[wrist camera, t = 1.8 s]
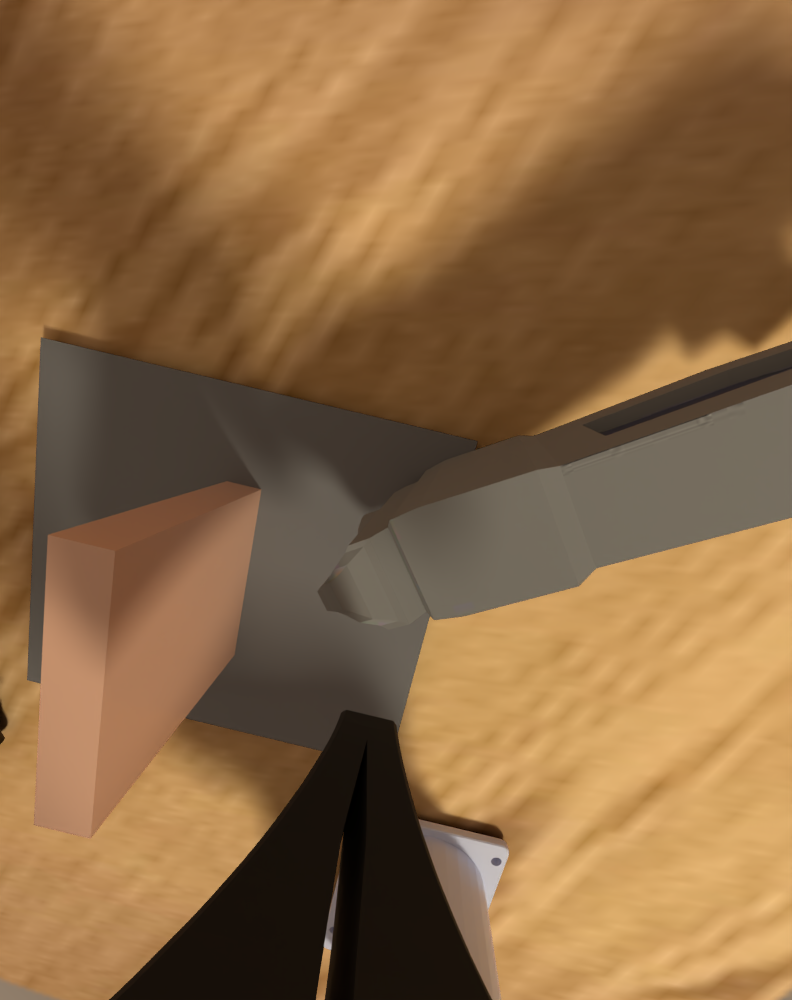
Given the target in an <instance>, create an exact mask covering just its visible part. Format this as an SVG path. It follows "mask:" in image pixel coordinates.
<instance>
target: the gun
mask: <svg viewBox="0 0 792 1000" xmlns="http://www.w3.org/2000/svg"><path fill="white" fill-rule="evenodd" d="M788 518H792V341H791V342H788V343H785V344H782V345H780V346H777V347H774V348H771V349H768V350H765V351H762V352H759V353H756V354H753V355H750V356H747V357H744V358H741V359H738V360H735V361H732V362H729V363H726V364H723V365H720V366H717V367H714V368H711V369H708V370H705V371H703V372H700V373H697V374H695V375H692V376H690V377H687V378H684V379H682V380H679V381H677V382H674V383H671V384H669V385H666V386H663V387H661V388H658V389H656V390H653V391H650V392H648V393H645V394H643V395H640V396H637V397H635V398H632V399H629V400H627V401H624V402H622V403H619V404H616V405H614V406H611V407H609V408H606V409H603V410H601V411H598V412H595V413H593V414H590V415H588V416H585V417H582V418H580V419H577V420H575V421H572V422H569V423H567V424H564V425H562V426H559V427H556V428H554V429H551V430H548V431H546V432H543V433H541V434H538V435H534V436H516V437H513V438H510V439H507V440H504V441H501V442H498V443H495V444H492V445H489V446H486V447H483V448H480V449H477V450H474V451H471V452H468V453H465V454H462V455H459V456H456V457H453V458H450V459H447V460H444V461H442V462H441V463H439V464H437V465H435V466H433V467H431V468H430V469H428V470H426V471H425V472H424V474H423V475H422V477H421V478H420V479H419V481H418V482H416V483H413V484H410V485H408V486H406V487H404V488H402V489H400V490H398V491H396V492H394V494H393V495H392V496H391V497H390V498H389V499H388V500H387V502H386V503H385V504H384V505H383V506H382V507H381V508H380V509H379V510H376V511H373V512H371V513H368V514H366V515H364V516H363V517H362V519H361V522H360V525H359V528H358V535H357V536H356V537H355V538H354V539H353V541H352V542H351V543H350V544H349V545H348V547H347V550H346V552H345V554H344V555H343V557H342V558H341V560H340V561H339V563H338V564H337V565H336V567H335V568H334V570H333V572H332V573H331V575H330V576H329V578H328V579H327V580H326V581H325V582H324V584H323V585H322V586H321V587H320V588H319V590H318V591H317V592H318V594H319V596H320V598H321V600H322V602H323V604H324V606H325V608H326V610H327V611H333V612H338V613H341V614H344V615H346V616H348V617H350V618H352V619H354V620H356V621H358V622H360V623H365V624H372V625H379V626H382V627H384V628H386V629H388V630H389V629H393V628H397V627H401V626H405V625H409V624H411V623H412V622H413V621H415V620H416V619H417V618H419V617H420V616H421V615H423V614H424V613H425V612H427V613H428V614H429V615H430V616H431V617H432V618H433V619H434V620H439V619H447V618H454V617H462V616H467V615H471V614H475V613H478V612H482V611H486V610H490V609H494V608H498V607H501V606H505V605H509V604H513V603H517V602H520V601H524V600H528V599H532V598H536V597H540V596H543V595H547V594H551V593H555V592H559V591H562V590H566V589H570V588H574V587H578V586H580V585H581V584H582V583H583V581H584V580H585V579H586V578H587V577H588V576H589V575H590V574H591V573H592V572H593V571H594V570H595V569H596V568H599V567H603V566H607V565H611V564H615V563H618V562H622V561H626V560H630V559H634V558H638V557H642V556H645V555H649V554H653V553H657V552H661V551H665V550H669V549H672V548H676V547H680V546H684V545H688V544H692V543H696V542H700V541H703V540H707V539H711V538H715V537H719V536H723V535H727V534H730V533H734V532H738V531H742V530H746V529H750V528H754V527H757V526H761V525H765V524H769V523H773V522H777V521H781V520H785V519H788Z"/></svg>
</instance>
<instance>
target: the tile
mask: <svg viewBox="0 0 792 1000" xmlns="http://www.w3.org/2000/svg"><path fill="white" fill-rule="evenodd" d="M260 495H261V489H258V488H254V487H249V486H245V485H241V484H237V483H233V482H228V481H226V482H222V483H219V484H216V485H212V486H209V487H206V488H202V489H199V490H196V491H192V492H189V493H186V494H182V495H179V496H176V497H172V498H169V499H166V500H162V501H159V502H156V503H152V504H149V505H146V506H142V507H139V508H136V509H132V510H129V511H126V512H122V513H119V514H116V515H112V516H109V517H105V518H102V519H99V520H95V521H92V522H89V523H85V524H82V525H79V526H75V527H72V528H69V529H65V530H62V531H59V532H55V533H52V534H49V535H48V542H47V563H46V583H45V604H44V625H43V646H42V667H41V688H40V709H39V730H38V751H37V772H36V793H35V814H34V825H36V826H40V827H44V828H48V829H52V830H57V831H61V832H65V833H69V834H73V835H77V836H81V837H86V838H90V839H91V837H92V836H93V835H94V834H95V832H96V831H97V830H98V828H99V827H100V826H101V825H102V823H103V822H104V821H105V819H106V818H107V817H108V816H109V814H110V813H111V812H112V811H113V809H114V808H115V807H116V805H117V804H118V803H119V802H120V800H121V799H122V798H123V797H124V795H125V794H126V793H127V791H128V790H129V789H130V788H131V786H132V785H133V784H134V783H135V781H136V780H137V779H138V777H139V776H140V775H141V774H142V772H143V771H144V770H145V768H146V767H147V766H148V765H149V763H150V762H151V761H152V760H153V758H154V757H155V756H156V754H157V753H158V752H159V751H160V749H161V748H162V747H163V746H164V744H165V743H166V742H167V740H168V739H169V738H170V737H171V735H172V734H173V733H174V731H175V730H176V729H177V728H178V726H179V725H180V724H181V723H182V721H183V720H184V719H185V717H186V716H187V715H188V714H189V712H190V711H191V710H192V709H193V707H194V706H195V705H196V703H197V702H198V701H199V700H200V698H201V697H202V696H203V695H204V693H205V692H206V691H207V689H208V688H209V687H210V686H211V684H212V683H213V682H214V680H215V679H216V678H217V677H218V675H219V674H220V673H221V672H222V670H223V669H224V668H225V666H226V665H227V664H228V663H229V661H230V660H231V659H232V658H233V656H234V655H235V649H236V643H237V636H238V630H239V624H240V618H241V612H242V606H243V600H244V594H245V587H246V581H247V575H248V569H249V563H250V557H251V551H252V544H253V538H254V532H255V526H256V520H257V514H258V508H259V502H260Z"/></svg>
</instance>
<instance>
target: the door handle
mask: <svg viewBox="0 0 792 1000" xmlns="http://www.w3.org/2000/svg"><path fill="white" fill-rule="evenodd" d="M4 739H5V737H4V736H3V734H2V733H1V731H0V744H1V743H2V742H3V740H4Z"/></svg>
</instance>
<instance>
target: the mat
mask: <svg viewBox="0 0 792 1000" xmlns="http://www.w3.org/2000/svg"><path fill="white" fill-rule="evenodd" d="M477 442H478V441H475V440H470V439H466V438H462V437H458V436H454V435H449V434H445V433H441V432H437V431H433V430H428V429H424V428H420V427H416V426H412V425H407V424H403V423H399V422H395V421H391V420H386V419H382V418H378V417H374V416H370V415H365V414H361V413H357V412H353V411H348V410H344V409H340V408H336V407H332V406H327V405H323V404H319V403H315V402H311V401H306V400H302V399H298V398H294V397H290V396H285V395H281V394H277V393H273V392H269V391H264V390H260V389H256V388H252V387H248V386H243V385H239V384H235V383H231V382H226V381H222V380H218V379H214V378H210V377H205V376H201V375H197V374H193V373H189V372H184V371H180V370H176V369H172V368H168V367H163V366H159V365H155V364H151V363H147V362H142V361H138V360H134V359H130V358H125V357H121V356H117V355H113V354H109V353H104V352H100V351H96V350H92V349H88V348H83V347H79V346H75V345H71V344H67V343H62V342H58V341H54V340H50V339H45V338H41V347H40V372H39V398H38V423H37V448H36V473H35V499H34V524H33V549H32V575H31V600H30V625H29V651H28V676H27V680H29V681H33V682H37V683H41V667H42V646H43V625H44V604H45V583H46V563H47V542H48V535H49V534H52V533H55V532H59V531H62V530H65V529H69V528H72V527H75V526H79V525H82V524H85V523H89V522H92V521H95V520H99V519H102V518H105V517H109V516H112V515H116V514H119V513H122V512H126V511H129V510H132V509H136V508H139V507H142V506H146V505H149V504H152V503H156V502H159V501H162V500H166V499H169V498H172V497H176V496H179V495H182V494H186V493H189V492H192V491H196V490H199V489H202V488H206V487H209V486H212V485H216V484H219V483H222V482H226V481H228V482H233V483H237V484H241V485H245V486H249V487H254V488H258V489H261V495H260V502H259V508H258V514H257V520H256V526H255V532H254V538H253V544H252V551H251V557H250V563H249V569H248V575H247V581H246V587H245V594H244V600H243V606H242V612H241V618H240V624H239V630H238V636H237V643H236V649H235V655H234V656H233V658H232V659H231V660H230V661H229V663H228V664H227V665H226V666H225V668H224V669H223V670H222V672H221V673H220V674H219V675H218V677H217V678H216V679H215V680H214V682H213V683H212V684H211V686H210V687H209V688H208V689H207V691H206V692H205V693H204V695H203V696H202V697H201V698H200V700H199V701H198V702H197V703H196V705H195V706H194V707H193V709H192V710H191V711H190V712H189V714H188V715H187V716H186V717H185V718H187V719H191V720H195V721H199V722H204V723H208V724H212V725H216V726H220V727H224V728H228V729H233V730H237V731H241V732H245V733H249V734H253V735H258V736H262V737H266V738H270V739H274V740H278V741H283V742H287V743H291V744H295V745H299V746H303V747H308V748H312V749H316V750H320V751H323V750H324V748H325V746H326V744H327V743H328V741H329V739H330V737H331V735H332V733H333V731H334V729H335V727H336V725H337V722H338V720H339V717H340V714H341V712H343V711H345V710H350V711H354V712H359V713H363V714H367V715H371V716H375V717H379V718H384V719H388V720H392V721H394V722H395V724H396V726H397V733H398V730H399V727H400V723H401V720H402V716H403V712H404V709H405V705H406V701H407V698H408V694H409V690H410V687H411V683H412V679H413V676H414V672H415V668H416V665H417V661H418V657H419V654H420V650H421V646H422V643H423V639H424V635H425V632H426V628H427V624H428V621H429V617H430V615H429V614H428V613H427V612H425V613H424V614H423V615H421V616H420V617H419V618H417V619H416V620H415V621H413V622H412V623H411V624H409V625H405V626H401V627H397V628H393V629H389V630H388V629H386V628H384V627H382V626H379V625H372V624H365V623H360V622H358V621H356V620H354V619H352V618H350V617H348V616H346V615H344V614H341V613H338V612H333V611H327V610H326V608H325V606H324V604H323V602H322V600H321V598H320V596H319V594H318V592H317V591H318V590H319V588H320V587H321V586H322V585H323V584H324V582H325V581H326V580H327V579H328V578H329V576H330V575H331V573H332V572H333V570H334V568H335V567H336V565H337V564H338V563H339V561H340V560H341V558H342V557H343V555H344V554H345V552H346V550H347V547H348V545H349V544H350V543H351V542H352V541H353V539H354V538H355V537H356V536H357V535H358V528H359V525H360V522H361V519H362V517H363V516H364V515H366V514H368V513H371V512H373V511H376V510H379V509H380V508H381V507H382V506H383V505H384V504H385V503H386V502H387V500H388V499H389V498H390V497H391V496H392V495H393V494H394V492H396V491H398V490H400V489H402V488H404V487H406V486H408V485H410V484H413V483H416V482H418V481H419V479H420V478H421V477H422V475H423V474H424V472H425V471H426V470H428V469H430V468H431V467H433V466H435V465H437V464H439V463H441V462H442V461H444V460H447V459H450V458H453V457H456V456H459V455H462V454H465V453H468V452H471V451H474V450H475V449H476V445H477Z"/></svg>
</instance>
